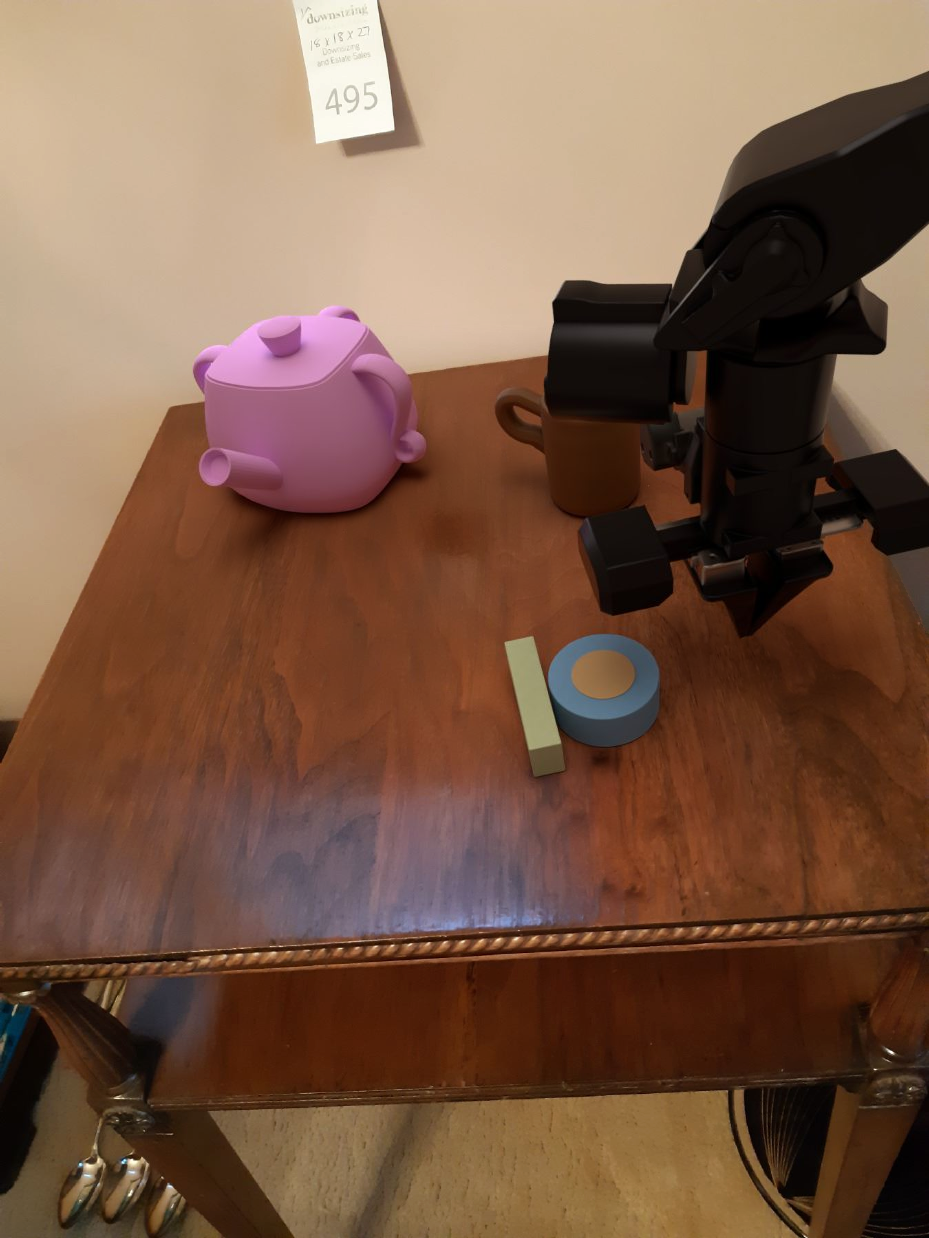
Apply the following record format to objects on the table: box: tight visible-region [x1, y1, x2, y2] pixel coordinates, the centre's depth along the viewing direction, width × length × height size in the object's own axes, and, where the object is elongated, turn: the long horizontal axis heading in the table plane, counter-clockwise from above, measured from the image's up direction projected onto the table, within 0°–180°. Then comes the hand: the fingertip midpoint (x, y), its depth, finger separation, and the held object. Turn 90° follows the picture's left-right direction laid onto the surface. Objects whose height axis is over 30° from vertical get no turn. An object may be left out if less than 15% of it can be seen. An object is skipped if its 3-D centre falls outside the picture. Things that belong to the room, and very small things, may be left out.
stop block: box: [504, 635, 566, 778], centre depth 54 cm, size 2×9×3 cm, turn 8°
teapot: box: [192, 305, 428, 514], centre depth 74 cm, size 19×21×14 cm
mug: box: [494, 386, 642, 518], centre depth 68 cm, size 12×8×9 cm, turn 64°
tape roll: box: [547, 633, 661, 748], centre depth 54 cm, size 7×7×3 cm
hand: (742, 631), depth 52 cm, fingers closed
